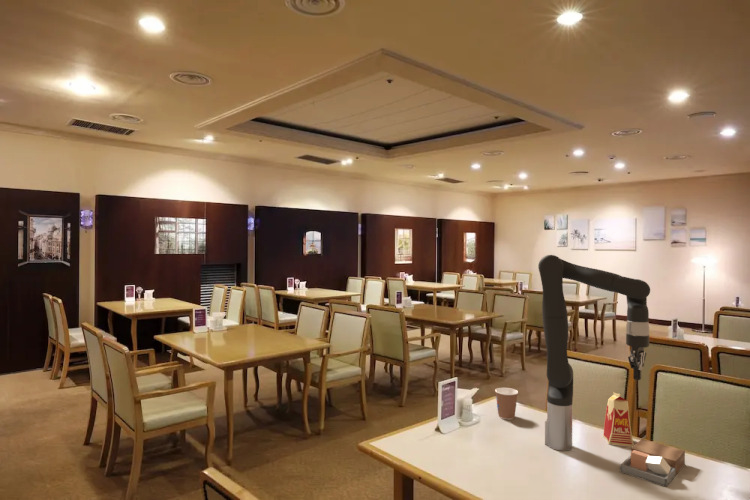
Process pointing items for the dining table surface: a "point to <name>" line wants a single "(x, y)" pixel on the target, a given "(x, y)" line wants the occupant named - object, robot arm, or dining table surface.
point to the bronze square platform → (662, 453)
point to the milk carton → (617, 422)
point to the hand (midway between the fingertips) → (637, 379)
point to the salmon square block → (639, 460)
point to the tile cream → (658, 465)
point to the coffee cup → (506, 402)
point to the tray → (647, 473)
